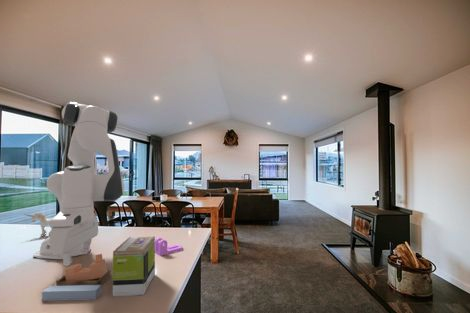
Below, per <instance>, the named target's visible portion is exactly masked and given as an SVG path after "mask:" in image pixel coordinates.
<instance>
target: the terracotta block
mask: <svg viewBox="0 0 470 313" xmlns="http://www.w3.org/2000/svg"><path fill="white" fill-rule="evenodd" d="M94 258H95V261H93V262H92V263H90V264H89V265H90V266H89V267H85V268H82V264H81V263H77V264H72V265H71V264H70V265H69V266H68V267H66V268H65V269H64V275H65V277H66V281H92V280H97V279H100V278H101V277H103V276H104V275H105V274H106V273H107V271H108V270H107V265H106V264H107V263H106V259H105V258H103V253H98V254H95V257H94Z"/></svg>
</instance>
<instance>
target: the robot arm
mask: <svg viewBox="0 0 470 313" xmlns="http://www.w3.org/2000/svg"><path fill="white" fill-rule="evenodd" d="M61 118H62V122H63V123H64V124H66V125H68V126H70V127H74V129H73V132H72V135H71V138H70V142H69V147H68V153H67V158H68V160H70V162H72V164H71V165H68V166H66V167H64V169H63V170H61V171H58V172H55V173H52V174H50V175H49V177H48V178H47V179H46V188H47V190H48V191H49V192H50V193H51V194H52V195H54V197H55V198H56V200H57V202H58V204H59V207H60V208H59V209H60V210H59V212H58V213H57V214H56V215H55V216H54V217H52V218H50V219H51V220H50V222H49V226H50V227H49V228H50V231H49V232H50V236H49V235H48V237H47V238H45V239H44V240H43V241H42V242H41V243H40V244H41V245H40V247H39V250H38V251H36V252H35V253H34V254H33V256H32V257H33V258H34V257H36V258H35V259H37V258H38V259H49V260H51V259H52V260H63V261H62V262H63V263H62V264H63V267H64V266H66V267H67V266H68V267H69V266H71V264H72V263H73V257H77V256H81V255H87V254H89V253H90V251H91V250H92V247H91V243H92V239H93V238H95V237H97V236H98V234H99V220H98V216H96V213H95V212H94V208H95V206H94V203H95V202H116V201H118V200H119V199H120V198H121V197H123V195H124V192H125V183H124V180H123V176H122V174H121V167H120V161H119V155H118V150H117V145H116V142H115V141H114V139H112V138H110V136H109V135H108V134H110V133H113V132H115V130H116V129H117V127H118V125H119V119H118V114H116V113H115V112H113V110H112V111H111V110H107V109H105V108H102V107H99V106H98V105H97V106H96V105H88V104H84V103H78V102H75V101H70V102H67V103H66V104H65V105H64V107H63V108H62V109H61ZM96 154H99V155H101V156H103V157H105V158H106V159H107V167H108V173H104V174H98V173H97V171H96V167H95V157H96ZM51 227H53V228H52V229H51Z"/></svg>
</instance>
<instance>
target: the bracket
mask: <svg viewBox="0 0 470 313" xmlns="http://www.w3.org/2000/svg"><path fill="white" fill-rule="evenodd" d="M179 250H180V251H182V250H183V245H182V244H174V245H169V246H168V241H167V240H166V239H164V238H162V237H157V238H155V255H158V256H159V257H161V256H165V255H169V254H173V253H177V252H180V251H179ZM176 251H177V252H176Z"/></svg>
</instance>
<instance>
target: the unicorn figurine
mask: <svg viewBox="0 0 470 313" xmlns="http://www.w3.org/2000/svg"><path fill="white" fill-rule="evenodd" d="M23 216H26V217H32V219H31V222H33V223H35V222H36V220H38V219H39V221H40V222H39V225H40V228H41V234H40V235H43V236H45V235H46V234H47V230H46V229H45V227H49V228H50V230H51V229H52V228H53V227H50V226H49V222H50V220H51V219H52V218H48V217H47V216H46V214H44V213H41V212H35V213H32V215H31V214H24V215H23ZM45 233H46V234H45ZM49 236H50V231H49V232H48V237H49Z"/></svg>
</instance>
